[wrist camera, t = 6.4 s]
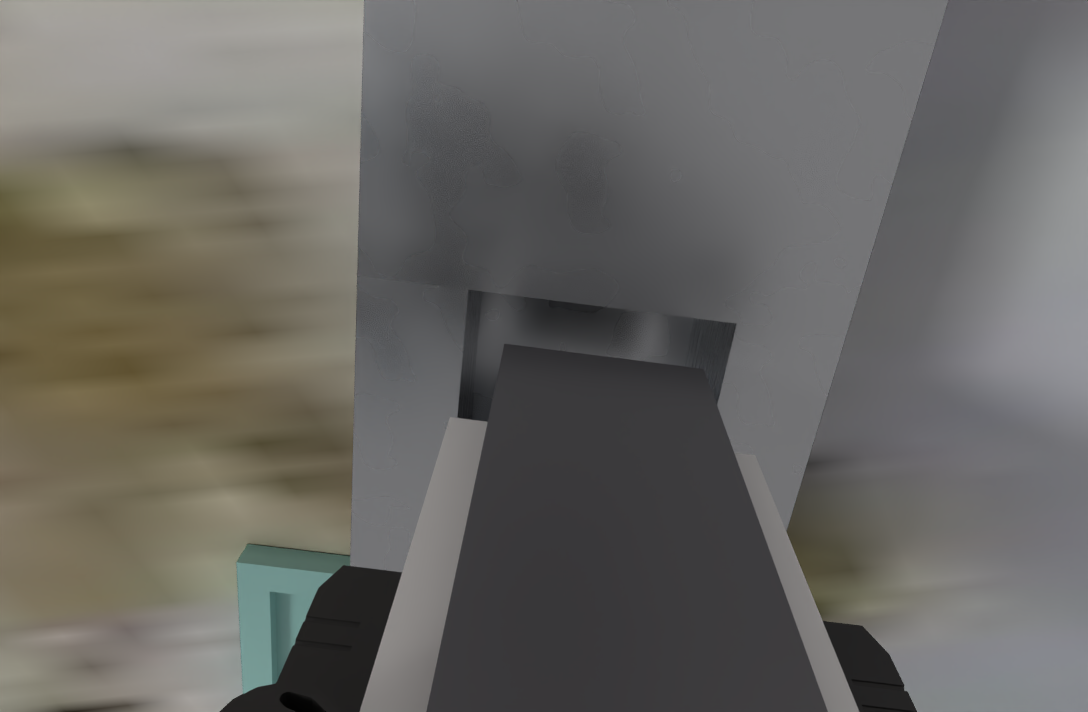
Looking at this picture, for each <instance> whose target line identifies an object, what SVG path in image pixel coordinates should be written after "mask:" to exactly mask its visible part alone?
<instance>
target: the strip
mask: <svg viewBox="0 0 1088 712" xmlns="http://www.w3.org/2000/svg"><path fill="white" fill-rule="evenodd" d="M948 1H949V0H364V28H363V69H362V109H361V149H360V189H359V230H358V270H357V310H356V351H355V391H354V431H353V472H352V512H351V552H350V566H354V567H363V568H371V569H379V570H387V571H396V572H403V568H404V565H405V562H406V559H407V555H408V552H409V549H410V546H411V542H412V539H413V536H414V533H415V529H416V526H417V523H418V520H419V516H420V513H421V510H422V507H423V503H424V500H425V497H426V494H427V490H428V487H429V484H430V481H431V477H432V474H433V471H434V467H435V464H436V461H437V458H438V454H439V451H440V448H441V445H442V441H443V438H444V435H445V432H446V428H447V425H448V422H449V419H450V417H453V418H461V419H470V420H478V421H486V422H488V418H489V414H490V409H491V404H492V400H493V395H494V390H495V385H496V381H497V376H498V371H499V367H500V362H501V357H502V352H503V348H504V344H511V345H519V346H527V347H535V348H543V349H551V350H559V351H566V352H574V353H582V354H590V355H598V356H606V357H614V358H622V359H630V360H638V361H645V362H653V363H661V364H669V365H677V366H685V367H693V368H701V369H704V371H705V373H706V376H707V379H708V382H709V384H710V387H711V390H712V393H713V395H714V398H715V401H716V404H717V406H718V409H719V412H720V415H721V418H722V420H723V423H724V426H725V429H726V431H727V434H728V437H729V440H730V442H731V445H732V448H733V451H734V453H742V454H750V455H755V456H756V458H757V461H758V463H759V466H760V468H761V471H762V473H763V476H764V478H765V481H766V483H767V485H768V488H769V490H770V493H771V495H772V498H773V500H774V503H775V505H776V508H777V510H778V513H779V515H780V518H781V520H782V522H783V525H784V527H785V530H786V531H787V528H788V525H789V521H790V518H791V515H792V512H793V508H794V505H795V502H796V498H797V495H798V492H799V489H800V485H801V482H802V479H803V475H804V472H805V469H806V466H807V462H808V459H809V456H810V453H811V449H812V446H813V443H814V439H815V436H816V433H817V430H818V426H819V423H820V420H821V417H822V413H823V410H824V407H825V403H826V400H827V397H828V394H829V390H830V387H831V384H832V380H833V377H834V374H835V371H836V367H837V364H838V361H839V358H840V354H841V351H842V348H843V344H844V341H845V338H846V335H847V331H848V328H849V325H850V322H851V318H852V315H853V312H854V308H855V305H856V302H857V299H858V295H859V292H860V289H861V285H862V282H863V279H864V276H865V272H866V269H867V266H868V263H869V259H870V256H871V253H872V249H873V246H874V243H875V240H876V236H877V233H878V230H879V227H880V223H881V220H882V217H883V213H884V210H885V207H886V204H887V200H888V197H889V194H890V191H891V187H892V184H893V181H894V177H895V174H896V171H897V168H898V164H899V161H900V158H901V154H902V151H903V148H904V145H905V141H906V138H907V135H908V132H909V128H910V125H911V122H912V118H913V115H914V112H915V109H916V105H917V102H918V99H919V96H920V92H921V89H922V86H923V82H924V79H925V76H926V73H927V69H928V66H929V63H930V59H931V56H932V53H933V50H934V46H935V43H936V40H937V37H938V33H939V30H940V27H941V23H942V20H943V17H944V14H945V10H946V7H947V4H948Z"/></svg>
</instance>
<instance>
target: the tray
mask: <svg viewBox="0 0 1088 712" xmlns="http://www.w3.org/2000/svg"><path fill="white" fill-rule="evenodd" d="M236 564H237V584H238V604H239V624H240V644H241V664H242V684H243V694H244V693H246V692H248V691H250V690H252V689H254V688H256V687H260V686H265V685H271V684H276V682H277V680H278V678H279V675H280V673H281V671H282V669H283V666H284V664H285V662H286V660H287V657H288V655H289V653H290V651H291V648H292V646H293V645H295V640H296V637H297V635H298V633H299V630H300V628H301V626H302V624H303V621H304V622H305V619H306V615H307V612H308V610H309V608H310V606H311V603H312V601H313V599H314V597H315V594H316V592H317V590H318V588H319V587H320V586H321V585H322V584H323V583H324V582H325V581H326V580H328V579H329V578H330V577H331V576H332V575H333V574H334V573H335V572H336V571H338V570H339V569H340V568H341V567H342V566H343V565H346V566H350V556H344V555H336V554H328V553H319V552H311V551H302V550H294V549H285V548H277V547H269V546H260V545H252V544H247V546H246V547H245V549H244V551H243V552H242V554H241V556H240V557H239V559H238V561H237V562H236Z"/></svg>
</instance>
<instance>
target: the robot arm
mask: <svg viewBox="0 0 1088 712" xmlns="http://www.w3.org/2000/svg"><path fill="white" fill-rule="evenodd" d="M487 423H488V422H486V421H478V420H470V419H461V418H453V417H450V419H449V422H448V425H447V428H446V432H445V435H444V438H443V441H442V445H441V448H440V451H439V454H438V458H437V461H436V464H435V467H434V471H433V474H432V477H431V481H430V484H429V487H428V490H427V494H426V497H425V500H424V503H423V507H422V510H421V513H420V516H419V520H418V523H417V526H416V529H415V533H414V536H413V539H412V542H411V546H410V549H409V552H408V555H407V559H406V562H405V565H404V568H403V572H396V571H387V570H379V569H371V568H363V567H354V566H346V565H343V566H342V567H341V568H340V569H339V570H338V571H336V572H335V573H334V574H333V575H332V576H331V577H330V578H329V579H328V580H326V581H325V582H324V583H323V584H322V585H321V586H320V587H319V588H318V590H317V592H316V594H315V597H314V599H313V601H312V603H311V606H310V608H309V610H308V612H307V615H306V619H305V622H304V621H303V624H302V626H301V628H300V630H299V633H298V635H297V637H296V640H295V645H293V646H292V648H291V651H290V653H289V655H288V657H287V660H286V662H285V664H284V666H283V669H282V671H281V673H280V675H279V678H278V680H277V682H276V684H271V685H265V686H260V687H256V688H254V689H252V690H250V691H248V692H246V693H244V694H242V695H240V696H238V697H236V698H234V699H233V700H232V701H231V702H230V703H228V704H227V705H226V706H225V707H224V708H223V709H222V710H221V711H220V712H426V711H427V706H428V701H429V697H430V692H431V687H432V683H433V678H434V673H435V668H436V664H437V659H438V654H439V650H440V645H441V640H442V635H443V631H444V626H445V621H446V617H447V612H448V607H449V602H450V598H451V593H452V588H453V584H454V579H455V574H456V569H457V565H458V560H459V555H460V550H461V546H462V541H463V536H464V532H465V527H466V522H467V517H468V513H469V508H470V503H471V499H472V494H473V489H474V484H475V480H476V475H477V470H478V466H479V461H480V456H481V451H482V447H483V442H484V437H485V433H486V428H487ZM735 456H736V459H737V462H738V465H739V467H740V470H741V473H742V476H743V478H744V481H745V484H746V487H747V489H748V492H749V495H750V498H751V500H752V503H753V506H754V509H755V511H756V514H757V517H758V520H759V523H760V525H761V528H762V531H763V534H764V536H765V539H766V542H767V545H768V547H769V550H770V553H771V556H772V558H773V561H774V564H775V567H776V570H777V572H778V575H779V578H780V581H781V583H782V586H783V589H784V592H785V594H786V597H787V600H788V603H789V605H790V608H791V611H792V614H793V617H794V619H795V622H796V625H797V628H798V630H799V633H800V636H801V639H802V641H803V644H804V647H805V650H806V652H807V655H808V658H809V661H810V664H811V666H812V669H813V672H814V675H815V677H816V680H817V683H818V686H819V688H820V691H821V694H822V697H823V699H824V702H825V705H826V708H827V711H828V712H917V710H916V708H915V706H914V704H913V702H912V700H911V698H910V696H909V694H908V692H906V691H904V684H903V682H902V680H901V678H900V676H899V674H898V672H897V670H896V667H895V665H894V663H893V661H892V659H891V657H890V655H889V654H888V653H887V652H886V651H885V649H884V648H883V647H882V646H881V645H880V644H879V643H878V642H877V641H876V640H875V639H874V638H873V637H872V636H871V635H870V634H869V633H868V632H867V631H866V629H865V628H864V627H863V626H859V625H850V624H842V623H834V622H826V621H822V619H821V616H820V614H819V611H818V609H817V606H816V604H815V601H814V599H813V596H812V594H811V591H810V589H809V587H808V584H807V582H806V579H805V577H804V574H803V572H802V569H801V567H800V564H799V562H798V559H797V557H796V554H795V552H794V550H793V547H792V545H791V542H790V540H789V537H788V535H787V532H786V530H785V527H784V525H783V522H782V520H781V518H780V515H779V513H778V510H777V508H776V505H775V503H774V500H773V498H772V495H771V493H770V490H769V488H768V485H767V483H766V481H765V478H764V476H763V473H762V471H761V468H760V466H759V463H758V461H757V458H756V456H755V455H750V454H742V453H735Z"/></svg>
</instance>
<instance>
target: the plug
mask: <svg viewBox="0 0 1088 712" xmlns="http://www.w3.org/2000/svg"><path fill="white" fill-rule="evenodd" d="M426 712H828V711H827V708H826V705H825V702H824V699H823V697H822V694H821V691H820V688H819V686H818V683H817V680H816V677H815V675H814V672H813V669H812V666H811V664H810V661H809V658H808V655H807V652H806V650H805V647H804V644H803V641H802V639H801V636H800V633H799V630H798V628H797V625H796V622H795V619H794V617H793V614H792V611H791V608H790V605H789V603H788V600H787V597H786V594H785V592H784V589H783V586H782V583H781V581H780V578H779V575H778V572H777V570H776V567H775V564H774V561H773V558H772V556H771V553H770V550H769V547H768V545H767V542H766V539H765V536H764V534H763V531H762V528H761V525H760V523H759V520H758V517H757V514H756V511H755V509H754V506H753V503H752V500H751V498H750V495H749V492H748V489H747V487H746V484H745V481H744V478H743V476H742V473H741V470H740V467H739V465H738V462H737V459H736V456H735V453H734V451H733V448H732V445H731V442H730V440H729V437H728V434H727V431H726V429H725V426H724V423H723V420H722V418H721V415H720V412H719V409H718V406H717V404H716V401H715V398H714V395H713V393H712V390H711V387H710V384H709V382H708V379H707V376H706V373H705V371H704V369H701V368H693V367H685V366H677V365H669V364H661V363H653V362H645V361H638V360H630V359H622V358H614V357H606V356H598V355H590V354H582V353H574V352H566V351H559V350H551V349H543V348H535V347H527V346H519V345H511V344H504V348H503V352H502V357H501V362H500V367H499V371H498V376H497V381H496V385H495V390H494V395H493V400H492V404H491V409H490V414H489V418H488V423H487V428H486V433H485V437H484V442H483V447H482V451H481V456H480V461H479V466H478V470H477V475H476V480H475V484H474V489H473V494H472V499H471V503H470V508H469V513H468V517H467V522H466V527H465V532H464V536H463V541H462V546H461V550H460V555H459V560H458V565H457V569H456V574H455V579H454V584H453V588H452V593H451V598H450V602H449V607H448V612H447V617H446V621H445V626H444V631H443V635H442V640H441V645H440V650H439V654H438V659H437V664H436V668H435V673H434V678H433V683H432V687H431V692H430V697H429V701H428V706H427V711H426Z"/></svg>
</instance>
